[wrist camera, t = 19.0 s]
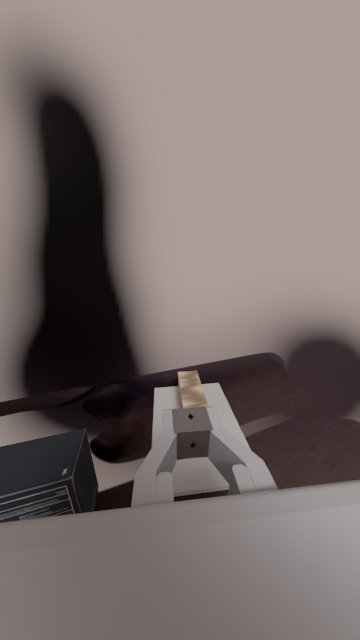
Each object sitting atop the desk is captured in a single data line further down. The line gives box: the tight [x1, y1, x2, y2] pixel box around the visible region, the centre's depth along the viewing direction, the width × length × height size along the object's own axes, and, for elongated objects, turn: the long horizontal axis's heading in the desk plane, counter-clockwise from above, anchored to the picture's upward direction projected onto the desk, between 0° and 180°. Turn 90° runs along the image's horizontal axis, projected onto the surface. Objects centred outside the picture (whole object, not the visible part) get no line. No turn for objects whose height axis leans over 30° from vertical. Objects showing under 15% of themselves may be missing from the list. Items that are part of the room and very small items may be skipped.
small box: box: [0, 429, 98, 523], centre depth 21 cm, size 11×6×10 cm, turn 104°
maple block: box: [178, 371, 208, 408], centre depth 39 cm, size 4×4×12 cm
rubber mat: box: [152, 383, 250, 497], centre depth 36 cm, size 16×22×1 cm
